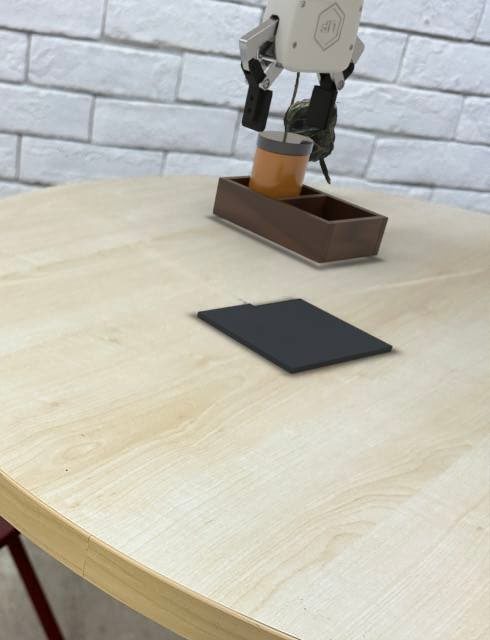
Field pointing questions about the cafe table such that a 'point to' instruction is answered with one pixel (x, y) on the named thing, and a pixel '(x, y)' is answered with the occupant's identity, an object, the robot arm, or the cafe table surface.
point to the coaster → (294, 334)
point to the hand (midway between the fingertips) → (285, 128)
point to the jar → (280, 163)
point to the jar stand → (302, 220)
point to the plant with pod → (311, 130)
